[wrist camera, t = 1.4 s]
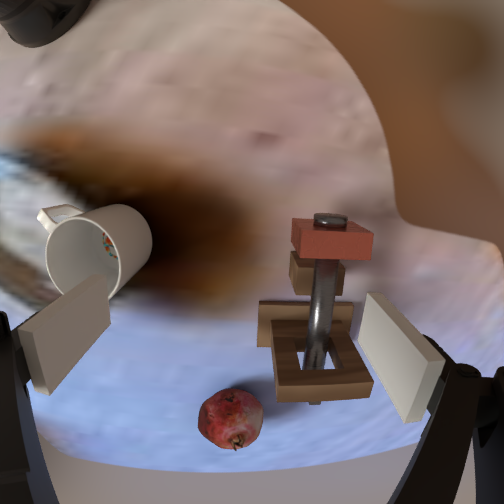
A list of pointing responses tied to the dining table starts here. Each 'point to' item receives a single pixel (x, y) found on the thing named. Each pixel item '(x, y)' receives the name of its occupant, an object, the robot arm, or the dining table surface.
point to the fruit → (231, 418)
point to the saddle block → (309, 275)
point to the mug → (95, 245)
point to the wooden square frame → (293, 340)
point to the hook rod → (326, 272)
